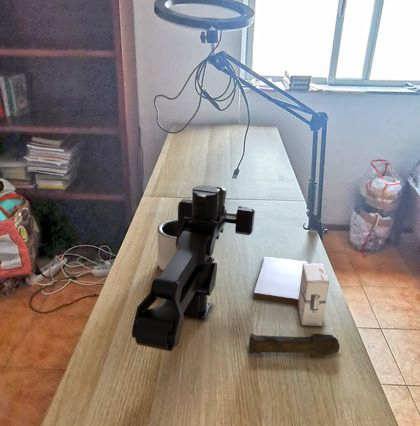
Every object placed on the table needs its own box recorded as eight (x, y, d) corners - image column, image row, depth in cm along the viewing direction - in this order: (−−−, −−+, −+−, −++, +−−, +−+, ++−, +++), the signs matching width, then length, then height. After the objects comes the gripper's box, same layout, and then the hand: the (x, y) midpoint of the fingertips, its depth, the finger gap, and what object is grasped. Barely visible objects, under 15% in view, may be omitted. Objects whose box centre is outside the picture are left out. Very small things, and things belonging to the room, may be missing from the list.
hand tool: (248, 356, 102) (250, 339, 99) (248, 344, 105) (250, 327, 102) (339, 362, 101) (343, 345, 99) (336, 350, 105) (340, 333, 102)
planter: (180, 282, 125) (180, 243, 119) (148, 265, 132) (146, 227, 126) (213, 266, 133) (215, 228, 127) (182, 250, 140) (182, 214, 134)
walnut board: (301, 305, 119) (302, 299, 118) (253, 297, 121) (253, 292, 120) (307, 266, 135) (308, 261, 134) (264, 260, 137) (264, 255, 136)
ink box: (296, 305, 119) (302, 261, 112) (316, 306, 118) (324, 262, 112) (300, 326, 111) (308, 281, 105) (322, 326, 111) (331, 282, 105)
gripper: (249, 200, 107) (262, 179, 119) (169, 189, 111) (189, 170, 123) (245, 246, 113) (258, 221, 126) (169, 235, 117) (189, 212, 129)
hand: (223, 205), depth 126 cm, fingers open, 9 cm apart
